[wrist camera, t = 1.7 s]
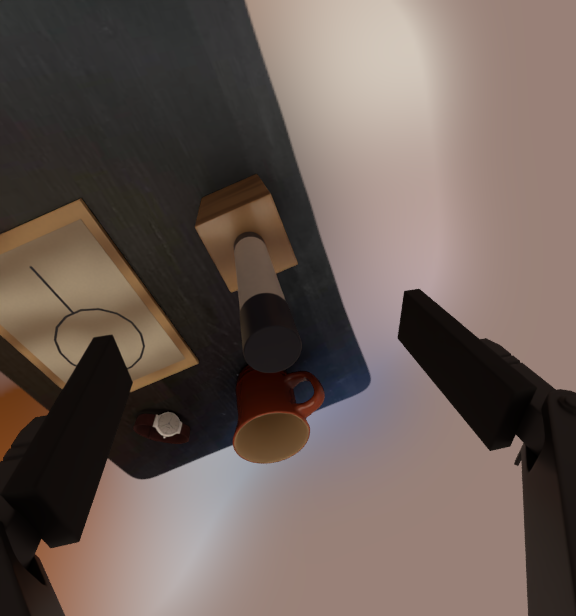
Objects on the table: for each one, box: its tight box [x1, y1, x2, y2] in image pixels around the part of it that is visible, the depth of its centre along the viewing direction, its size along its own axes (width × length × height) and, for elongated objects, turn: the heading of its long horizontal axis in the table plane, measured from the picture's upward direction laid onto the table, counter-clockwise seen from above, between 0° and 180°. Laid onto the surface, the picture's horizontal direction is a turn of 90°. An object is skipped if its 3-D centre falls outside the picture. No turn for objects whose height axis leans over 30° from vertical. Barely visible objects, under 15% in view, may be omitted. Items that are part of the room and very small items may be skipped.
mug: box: [233, 365, 325, 463], centre depth 40 cm, size 12×9×10 cm
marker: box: [234, 232, 302, 373], centre depth 19 cm, size 2×2×13 cm
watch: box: [133, 412, 190, 444], centre depth 44 cm, size 8×5×4 cm, turn 54°
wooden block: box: [195, 174, 298, 292], centre depth 29 cm, size 6×6×10 cm
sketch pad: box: [0, 198, 199, 392], centre depth 35 cm, size 22×16×1 cm
